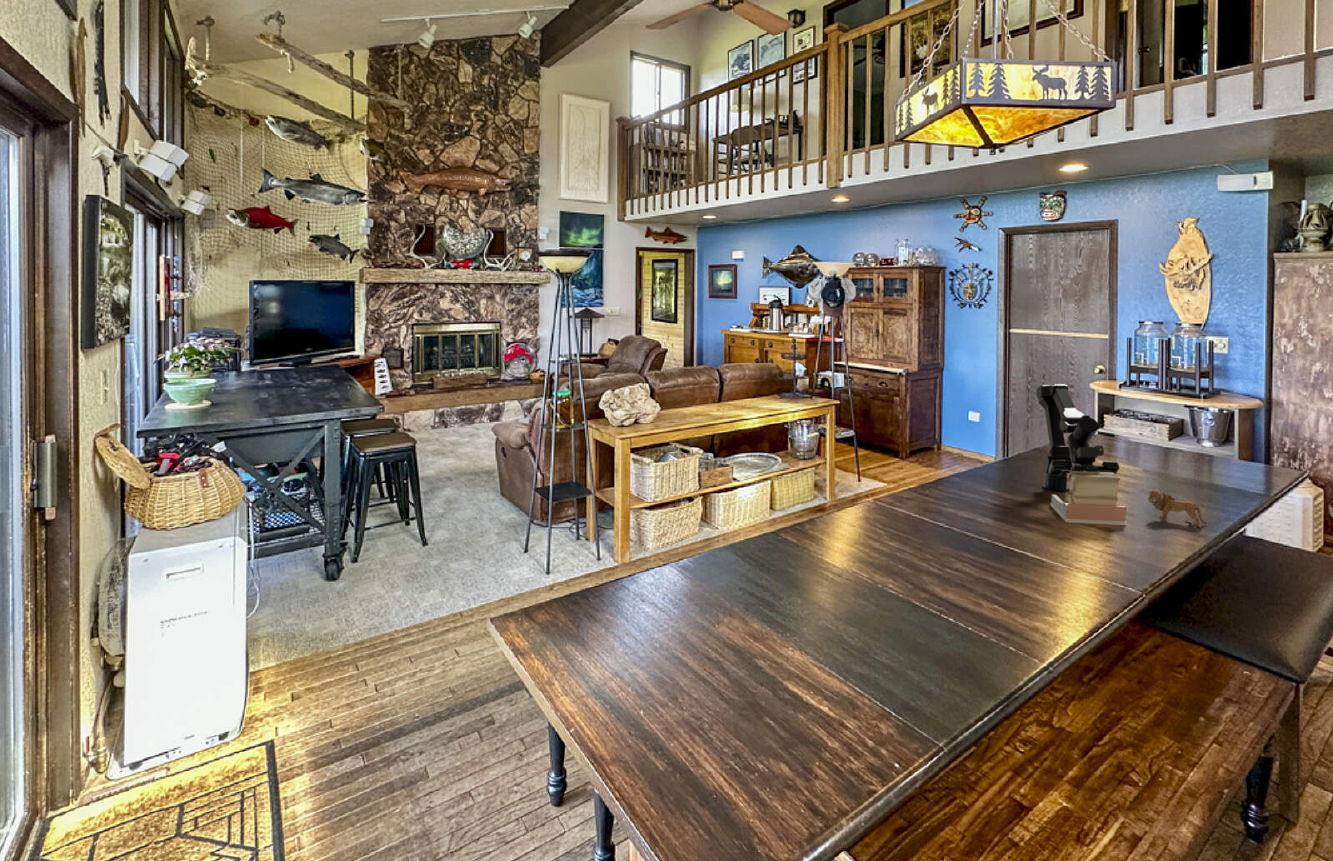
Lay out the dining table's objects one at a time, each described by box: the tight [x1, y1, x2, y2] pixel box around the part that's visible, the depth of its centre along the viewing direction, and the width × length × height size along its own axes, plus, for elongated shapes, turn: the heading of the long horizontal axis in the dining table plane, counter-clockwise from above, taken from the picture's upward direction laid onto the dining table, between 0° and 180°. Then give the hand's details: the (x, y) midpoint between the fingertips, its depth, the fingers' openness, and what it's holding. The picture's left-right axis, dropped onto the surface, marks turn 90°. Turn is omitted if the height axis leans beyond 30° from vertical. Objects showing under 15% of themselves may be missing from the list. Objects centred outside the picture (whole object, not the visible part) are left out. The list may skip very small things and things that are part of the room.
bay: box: [1050, 494, 1128, 526], centre depth 216 cm, size 19×16×6 cm
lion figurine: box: [1147, 489, 1208, 527], centre depth 206 cm, size 15×5×9 cm, turn 53°
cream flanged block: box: [1068, 471, 1121, 506], centre depth 210 cm, size 6×11×13 cm, turn 75°
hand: (1087, 491), depth 215 cm, fingers closed
